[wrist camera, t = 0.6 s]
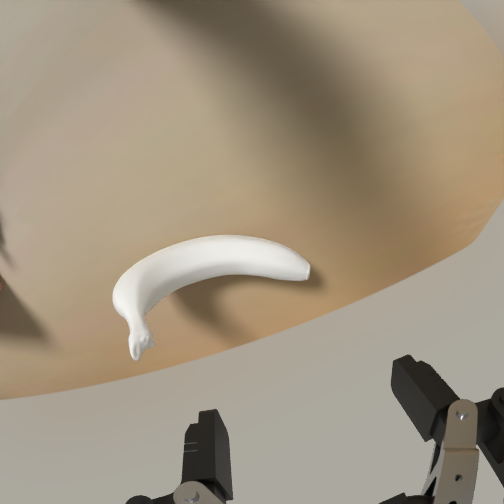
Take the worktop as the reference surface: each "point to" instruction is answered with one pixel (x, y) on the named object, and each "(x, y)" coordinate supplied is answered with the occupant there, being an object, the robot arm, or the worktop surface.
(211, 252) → the white plaster fruit
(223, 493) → the robot arm
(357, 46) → the worktop surface
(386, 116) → the worktop surface
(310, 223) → the worktop surface
